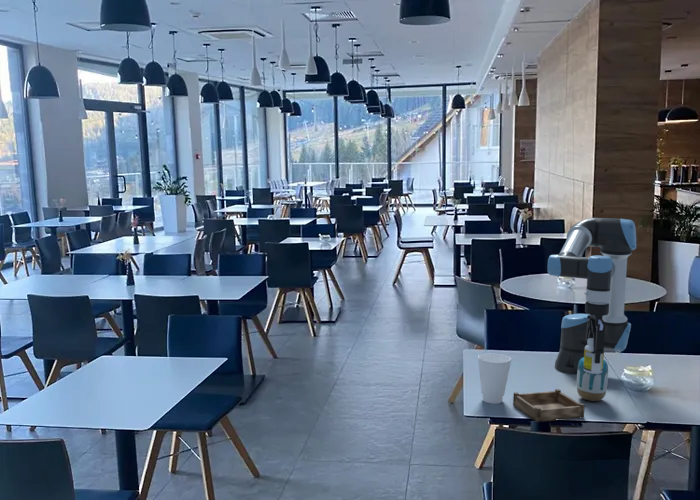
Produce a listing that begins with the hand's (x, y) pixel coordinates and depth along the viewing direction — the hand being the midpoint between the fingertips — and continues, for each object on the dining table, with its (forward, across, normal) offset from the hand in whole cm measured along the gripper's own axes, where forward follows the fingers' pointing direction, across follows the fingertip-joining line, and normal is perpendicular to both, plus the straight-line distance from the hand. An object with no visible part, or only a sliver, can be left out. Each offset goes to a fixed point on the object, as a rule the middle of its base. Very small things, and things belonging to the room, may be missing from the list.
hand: (592, 368), depth 226 cm
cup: (+17, -11, -32) cm, 38 cm away
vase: (+17, -17, +4) cm, 24 cm away
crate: (+17, -2, -14) cm, 22 cm away
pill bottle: (+1, 0, 0) cm, 1 cm away
